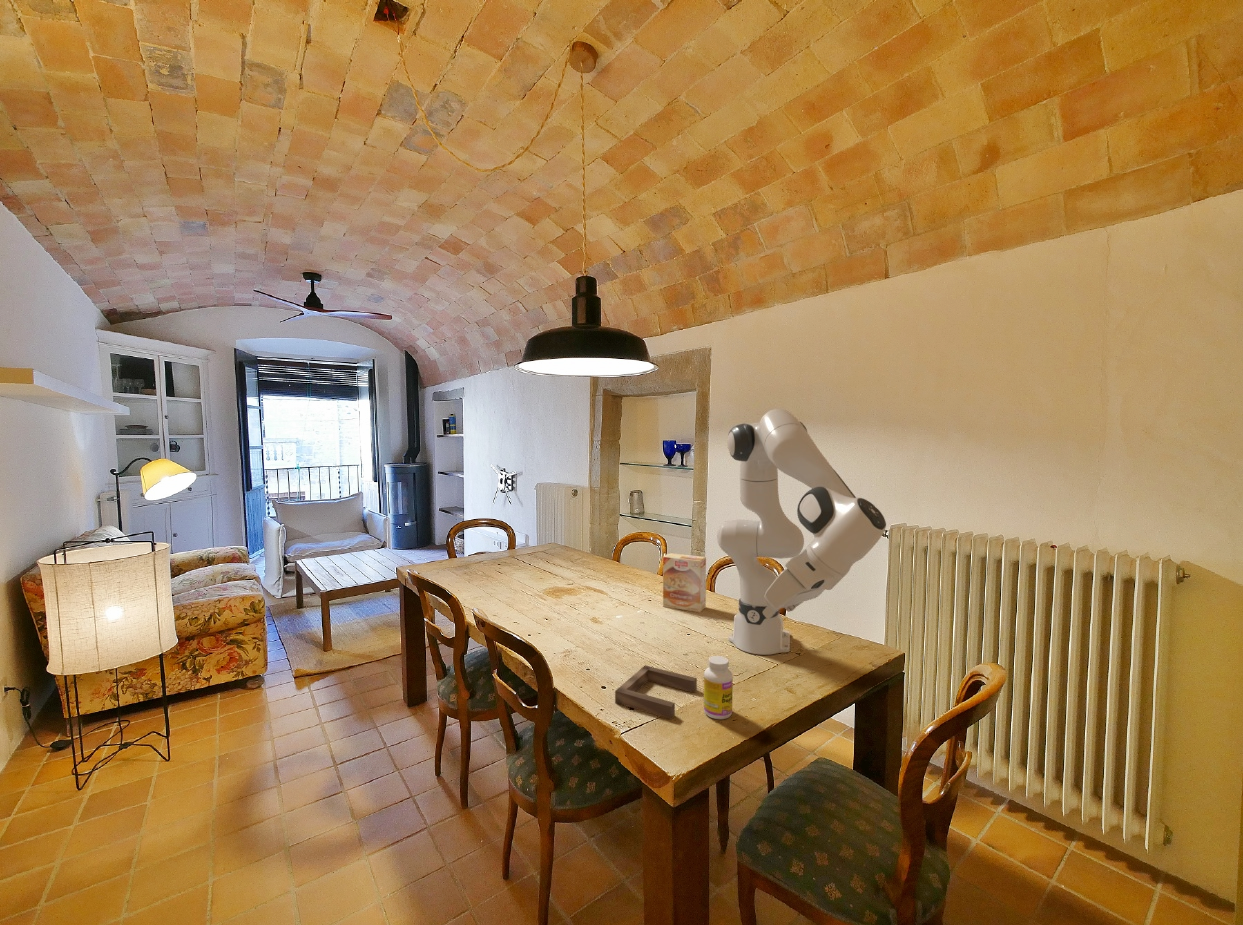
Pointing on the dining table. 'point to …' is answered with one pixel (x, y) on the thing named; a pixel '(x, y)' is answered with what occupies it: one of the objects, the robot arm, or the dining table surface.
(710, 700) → the supplement bottle
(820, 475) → the robot arm
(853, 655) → the dining table surface
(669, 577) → the coffeecake box
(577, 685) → the dining table surface
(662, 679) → the bay
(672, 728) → the dining table surface
